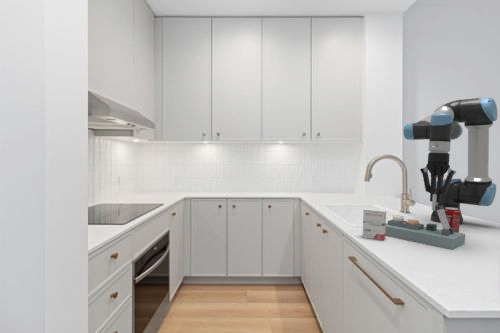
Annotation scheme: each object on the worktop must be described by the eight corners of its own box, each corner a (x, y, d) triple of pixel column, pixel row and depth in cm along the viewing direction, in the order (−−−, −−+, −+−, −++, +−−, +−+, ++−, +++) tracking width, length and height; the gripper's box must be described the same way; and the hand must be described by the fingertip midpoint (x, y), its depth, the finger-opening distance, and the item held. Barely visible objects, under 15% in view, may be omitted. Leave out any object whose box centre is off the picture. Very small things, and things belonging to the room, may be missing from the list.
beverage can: (443, 232, 152) (444, 206, 151) (459, 234, 148) (461, 208, 147) (441, 234, 147) (442, 208, 147) (457, 237, 143) (459, 210, 143)
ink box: (385, 238, 139) (386, 210, 138) (383, 240, 135) (385, 211, 134) (364, 235, 143) (365, 208, 143) (361, 237, 139) (363, 209, 138)
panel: (393, 229, 155) (394, 216, 155) (464, 243, 133) (465, 228, 133) (378, 234, 146) (379, 220, 145) (452, 249, 124) (452, 233, 123)
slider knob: (429, 228, 140) (429, 223, 140) (436, 230, 138) (436, 224, 138) (426, 229, 138) (426, 224, 138) (433, 231, 136) (434, 225, 136)
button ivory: (395, 220, 149) (395, 214, 149) (405, 221, 146) (405, 216, 146) (390, 221, 146) (391, 215, 146) (400, 223, 143) (400, 217, 143)
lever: (448, 233, 133) (438, 205, 135) (452, 232, 132) (442, 204, 134) (444, 234, 130) (434, 206, 133) (448, 234, 129) (438, 205, 132)
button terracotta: (410, 224, 144) (410, 219, 144) (420, 226, 141) (420, 220, 141) (405, 226, 142) (405, 220, 141) (416, 228, 138) (416, 222, 138)
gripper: (418, 151, 136) (414, 208, 137) (453, 152, 126) (448, 213, 127) (426, 152, 141) (422, 206, 142) (460, 153, 131) (455, 212, 132)
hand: (434, 210), depth 134 cm, fingers closed
